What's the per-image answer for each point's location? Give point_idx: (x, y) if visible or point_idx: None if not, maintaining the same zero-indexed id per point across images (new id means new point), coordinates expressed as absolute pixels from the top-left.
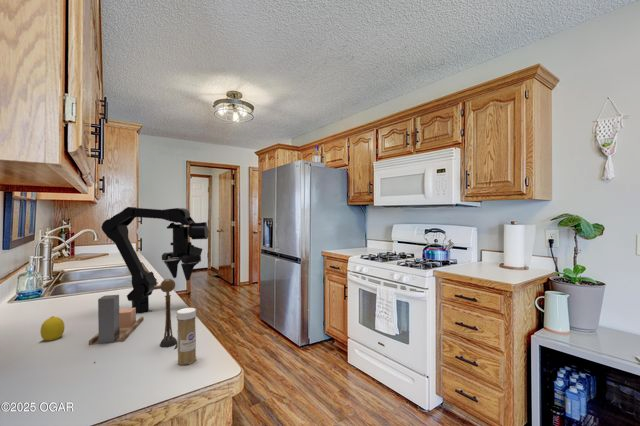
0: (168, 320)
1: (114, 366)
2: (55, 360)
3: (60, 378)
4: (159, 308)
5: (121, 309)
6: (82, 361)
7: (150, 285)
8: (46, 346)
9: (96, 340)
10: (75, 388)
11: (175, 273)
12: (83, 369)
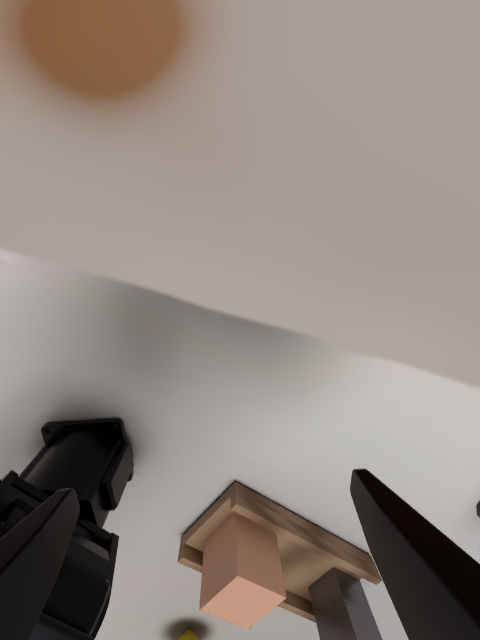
0: None
1: None
2: (315, 633)
3: None
4: (67, 373)
5: (214, 607)
6: (372, 610)
7: (74, 598)
8: (207, 637)
9: (304, 599)
10: None
11: (37, 557)
12: None
